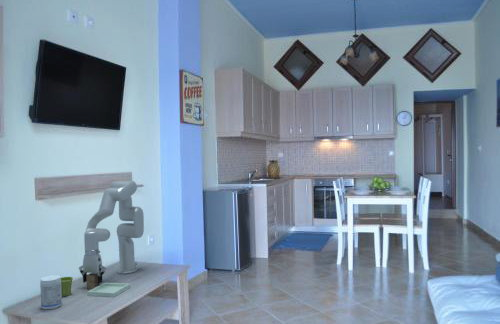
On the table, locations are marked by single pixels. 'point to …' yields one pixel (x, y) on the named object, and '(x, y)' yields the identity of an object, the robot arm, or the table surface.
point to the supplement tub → (51, 292)
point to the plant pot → (66, 285)
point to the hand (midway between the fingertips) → (92, 282)
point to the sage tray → (108, 289)
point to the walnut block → (92, 281)
